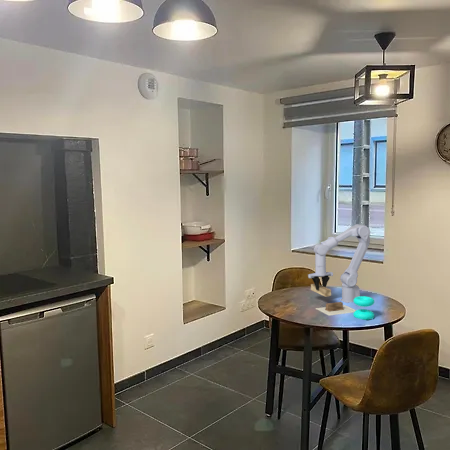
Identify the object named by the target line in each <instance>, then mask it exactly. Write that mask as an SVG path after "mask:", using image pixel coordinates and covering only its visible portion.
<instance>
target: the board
mask: <svg viewBox="0 0 450 450" xmlns="http://www.w3.org/2000/svg"><path fill="white" fill-rule="evenodd" d="M325 309H326V306H323V307H317V308H315V310H317V311H319V312H320V313H323V314H324V315H327V316H335V315H345V314H353V313H354V312H355V311H356V310H357V309H354V308H352V307H350V306H348V305H346V304H343V309H344V310H339V311H331V312H329V311H327V310H325Z"/></svg>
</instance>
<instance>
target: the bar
mask: <svg viewBox="0 0 450 450" xmlns="http://www.w3.org/2000/svg"><path fill="white" fill-rule="evenodd" d="M310 291H312V292H314V293H317V294H319V295H320V296H323V297H331V296H332V289H330V288H327V286H326V287H323V286H322V285H320V284H319V290H316V287H315V284H314V283H311V284H310Z"/></svg>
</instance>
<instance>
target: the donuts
mask: <svg viewBox="0 0 450 450" xmlns="http://www.w3.org/2000/svg"><path fill="white" fill-rule="evenodd" d="M353 301H354V302H353V303H354V304H355V305H356V306H358V307H364V308H365V307H372V306H373V305H374V304H375V299H374V298H372V297H370V296H366V295H365V296H364V295H363V296H362V295H360V296H358V297H355V298H354V300H353ZM364 308H363V309H362V308H360V309H355V310H356V311H355V312H353V313H352V315H353V317H354V318H356V319H357V320H358V319H359V320H362V321H369V320H372V319H374V318H375V312H373V311H372V310H370V309H364Z"/></svg>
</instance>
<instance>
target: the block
mask: <svg viewBox="0 0 450 450" xmlns="http://www.w3.org/2000/svg"><path fill="white" fill-rule="evenodd" d="M343 305H344V302H343V301H338V302H329V303H328V302H327V303H325V307H326V309H325V310H327V311H329V312H331V311H339V310H344V309H343Z"/></svg>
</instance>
